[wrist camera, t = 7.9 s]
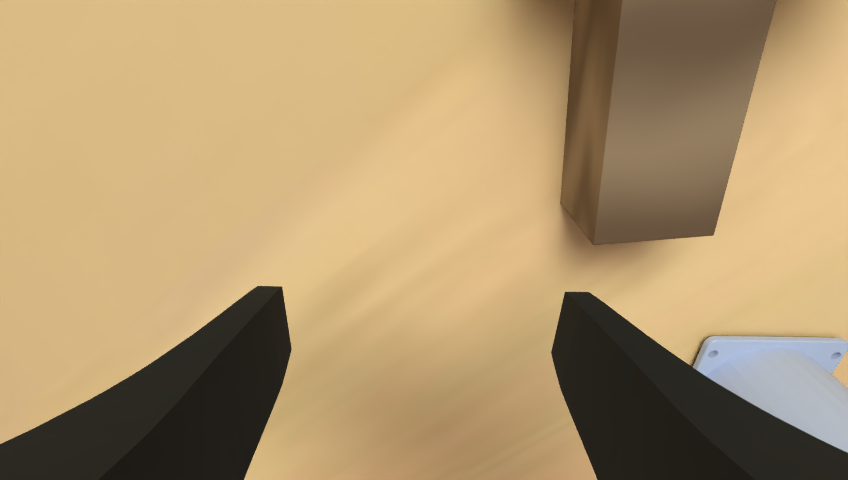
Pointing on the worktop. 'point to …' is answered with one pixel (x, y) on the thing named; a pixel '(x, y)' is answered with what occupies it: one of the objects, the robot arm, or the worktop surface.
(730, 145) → the brown wooden bar
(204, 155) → the worktop surface
